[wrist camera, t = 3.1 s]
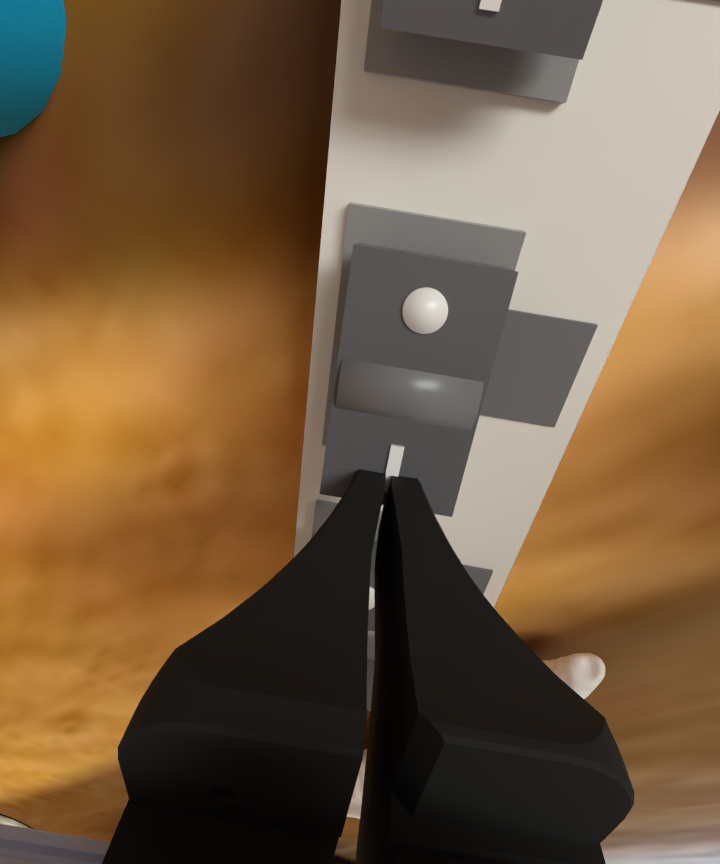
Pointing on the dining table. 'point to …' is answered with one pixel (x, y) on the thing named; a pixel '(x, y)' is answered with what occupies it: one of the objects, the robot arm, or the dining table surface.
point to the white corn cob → (573, 670)
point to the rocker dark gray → (413, 368)
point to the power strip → (510, 221)
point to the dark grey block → (500, 22)
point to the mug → (28, 59)
